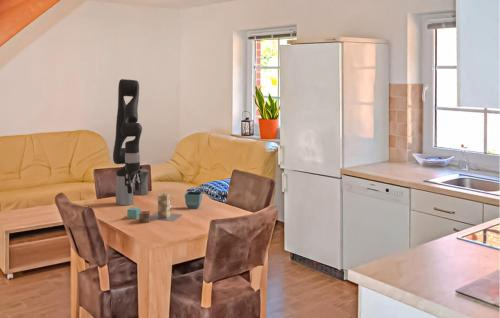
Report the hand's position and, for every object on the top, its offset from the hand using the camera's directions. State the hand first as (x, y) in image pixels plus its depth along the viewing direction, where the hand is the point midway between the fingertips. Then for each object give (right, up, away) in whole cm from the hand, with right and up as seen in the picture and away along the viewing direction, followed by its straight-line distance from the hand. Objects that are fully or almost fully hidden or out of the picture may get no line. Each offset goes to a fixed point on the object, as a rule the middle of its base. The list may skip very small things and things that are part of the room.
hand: (133, 191), depth 288 cm
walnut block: (+7, -16, -6) cm, 18 cm away
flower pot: (+29, -11, +27) cm, 41 cm away
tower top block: (+16, -8, +2) cm, 18 cm away
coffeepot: (-9, -5, +65) cm, 66 cm away
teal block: (0, -15, +2) cm, 15 cm away
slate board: (+16, -15, +3) cm, 22 cm away
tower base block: (+16, -14, +3) cm, 21 cm away
